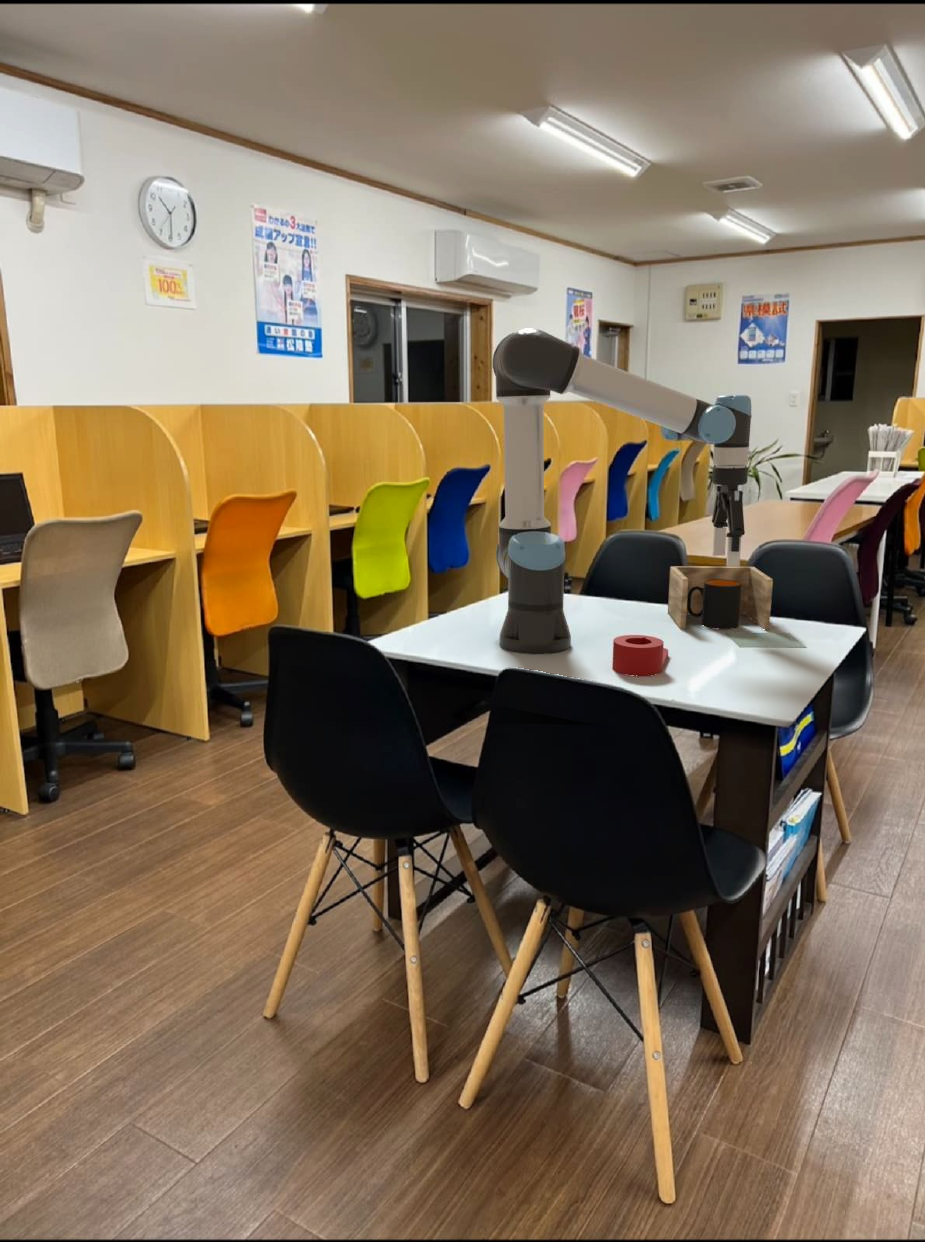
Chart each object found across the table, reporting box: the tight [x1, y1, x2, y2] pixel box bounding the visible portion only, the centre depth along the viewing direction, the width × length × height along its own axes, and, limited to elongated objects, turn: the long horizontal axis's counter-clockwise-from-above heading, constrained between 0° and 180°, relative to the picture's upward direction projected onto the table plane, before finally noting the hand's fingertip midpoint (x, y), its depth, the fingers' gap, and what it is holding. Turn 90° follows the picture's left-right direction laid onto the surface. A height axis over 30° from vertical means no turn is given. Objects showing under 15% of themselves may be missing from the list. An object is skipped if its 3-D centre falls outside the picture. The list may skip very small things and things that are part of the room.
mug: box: [687, 579, 741, 630], centre depth 207 cm, size 8×12×10 cm
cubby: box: [667, 565, 774, 631], centre depth 209 cm, size 20×16×12 cm
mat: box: [725, 631, 808, 649], centre depth 193 cm, size 14×12×1 cm
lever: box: [611, 634, 669, 677], centre depth 174 cm, size 18×9×7 cm, turn 147°
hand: (725, 560), depth 203 cm, fingers open, 13 cm apart
